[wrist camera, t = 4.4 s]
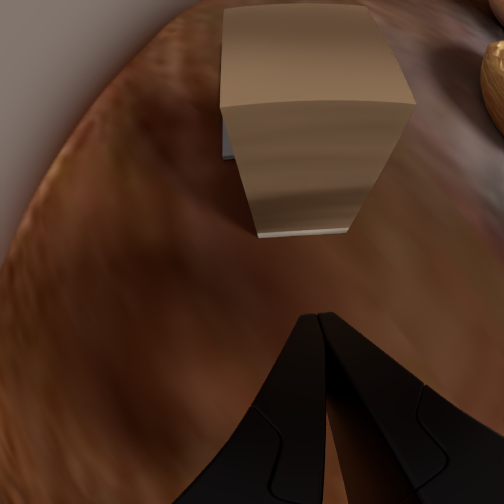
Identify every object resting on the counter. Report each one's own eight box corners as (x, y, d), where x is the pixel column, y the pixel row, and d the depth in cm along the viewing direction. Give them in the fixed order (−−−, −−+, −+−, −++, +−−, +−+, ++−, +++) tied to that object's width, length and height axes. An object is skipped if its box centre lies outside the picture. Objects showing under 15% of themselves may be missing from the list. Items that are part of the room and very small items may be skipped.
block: (346, 232, 15) (416, 104, 6) (258, 238, 16) (219, 107, 6) (334, 156, 17) (366, 6, 7) (254, 161, 17) (224, 9, 7)
